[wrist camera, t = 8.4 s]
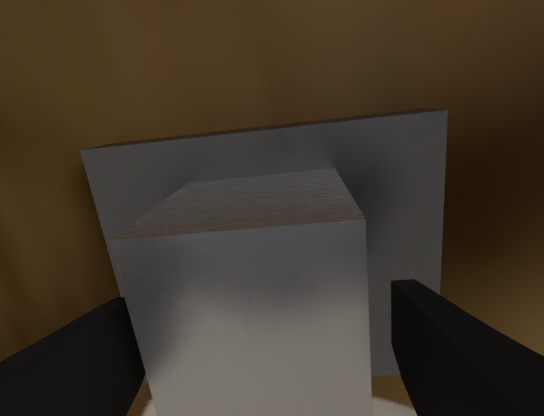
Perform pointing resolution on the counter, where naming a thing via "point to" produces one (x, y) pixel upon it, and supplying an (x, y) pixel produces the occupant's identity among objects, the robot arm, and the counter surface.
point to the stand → (299, 158)
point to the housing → (252, 297)
